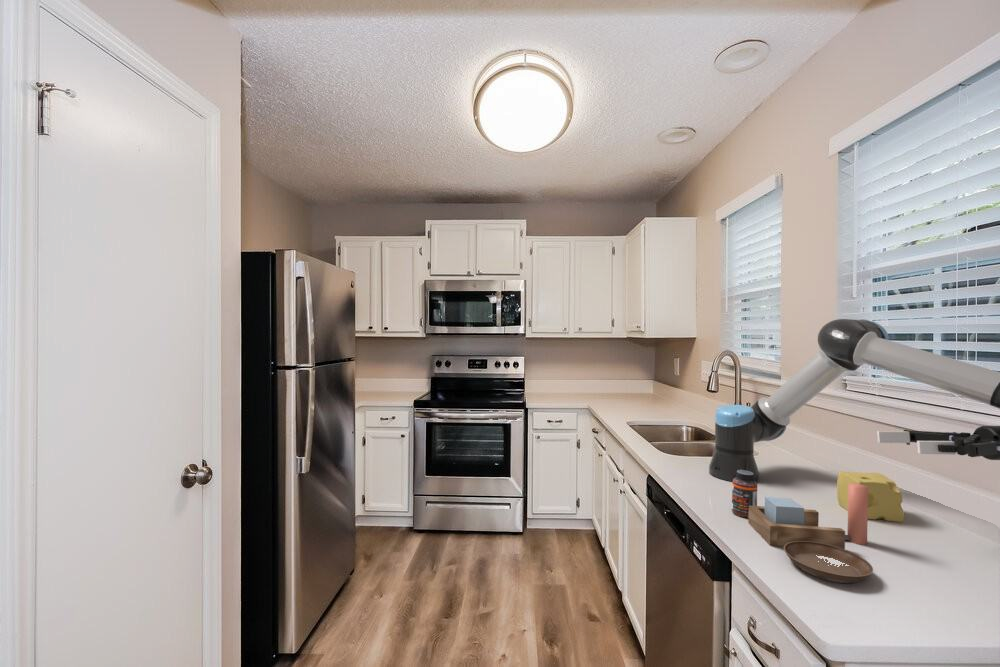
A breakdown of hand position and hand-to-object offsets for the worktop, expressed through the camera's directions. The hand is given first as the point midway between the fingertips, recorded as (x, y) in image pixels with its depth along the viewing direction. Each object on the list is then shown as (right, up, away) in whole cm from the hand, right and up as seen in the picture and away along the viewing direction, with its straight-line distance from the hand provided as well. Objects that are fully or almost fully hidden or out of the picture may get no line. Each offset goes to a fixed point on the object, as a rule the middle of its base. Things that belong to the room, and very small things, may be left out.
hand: (896, 441), depth 104 cm
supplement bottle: (-27, -23, +15) cm, 39 cm away
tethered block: (-17, -23, +2) cm, 29 cm away
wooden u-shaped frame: (-22, -23, +2) cm, 32 cm away
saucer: (-25, -24, -12) cm, 37 cm away
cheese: (+8, -24, +17) cm, 31 cm away
